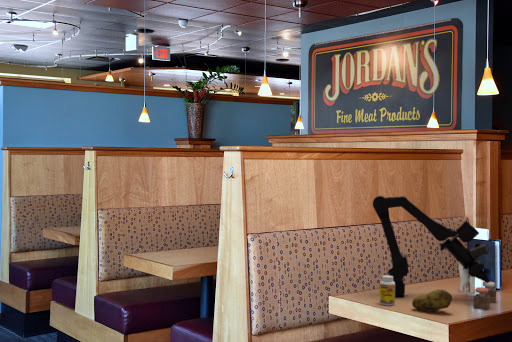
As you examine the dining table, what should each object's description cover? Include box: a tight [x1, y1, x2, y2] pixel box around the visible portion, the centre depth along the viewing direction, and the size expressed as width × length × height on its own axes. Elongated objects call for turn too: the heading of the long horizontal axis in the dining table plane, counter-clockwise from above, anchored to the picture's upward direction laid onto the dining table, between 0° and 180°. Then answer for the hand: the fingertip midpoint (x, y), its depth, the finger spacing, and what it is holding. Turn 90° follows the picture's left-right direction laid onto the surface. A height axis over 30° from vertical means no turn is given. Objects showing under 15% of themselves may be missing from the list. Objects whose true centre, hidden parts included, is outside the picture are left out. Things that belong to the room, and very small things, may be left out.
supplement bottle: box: [378, 274, 396, 306], centre depth 227 cm, size 6×6×10 cm
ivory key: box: [482, 281, 496, 290], centre depth 234 cm, size 4×4×5 cm
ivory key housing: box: [485, 287, 497, 304], centre depth 234 cm, size 5×5×4 cm
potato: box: [411, 289, 453, 312], centre depth 217 cm, size 8×13×8 cm, turn 47°
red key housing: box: [473, 293, 491, 311], centre depth 223 cm, size 5×5×4 cm
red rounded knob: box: [475, 286, 488, 297], centre depth 223 cm, size 4×4×5 cm
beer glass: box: [458, 260, 478, 294], centre depth 251 cm, size 7×7×15 cm
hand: (488, 281), depth 234 cm, fingers closed, pressing on ivory key
